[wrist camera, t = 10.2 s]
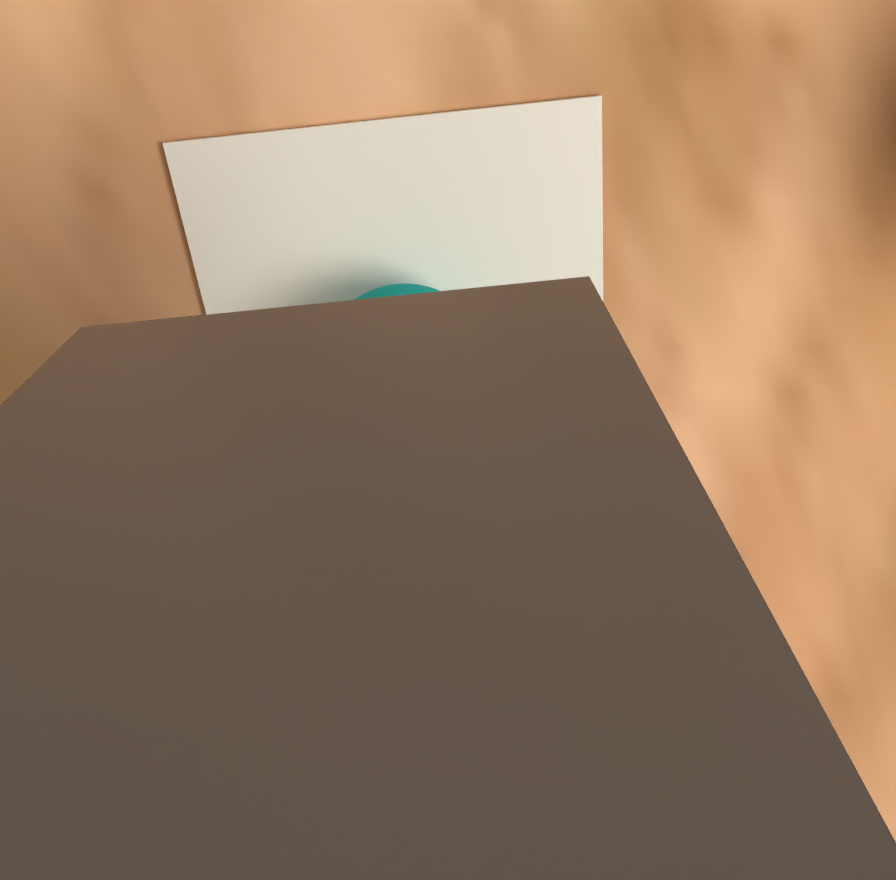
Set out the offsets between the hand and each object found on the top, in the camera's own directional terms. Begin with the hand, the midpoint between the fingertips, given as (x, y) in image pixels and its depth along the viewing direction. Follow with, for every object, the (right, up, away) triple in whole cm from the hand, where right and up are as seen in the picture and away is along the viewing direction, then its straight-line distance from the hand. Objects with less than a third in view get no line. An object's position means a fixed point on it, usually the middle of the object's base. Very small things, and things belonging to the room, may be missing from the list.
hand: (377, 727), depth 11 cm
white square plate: (0, +8, +14) cm, 16 cm away
